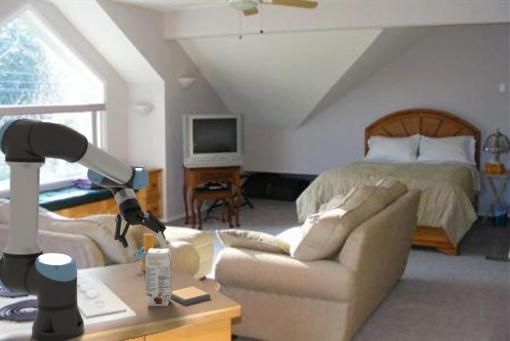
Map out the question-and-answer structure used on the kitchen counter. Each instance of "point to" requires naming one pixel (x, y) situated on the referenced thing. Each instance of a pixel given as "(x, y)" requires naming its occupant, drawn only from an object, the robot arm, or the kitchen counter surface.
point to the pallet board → (189, 295)
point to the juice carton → (158, 277)
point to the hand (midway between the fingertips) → (148, 251)
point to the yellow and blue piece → (145, 248)
